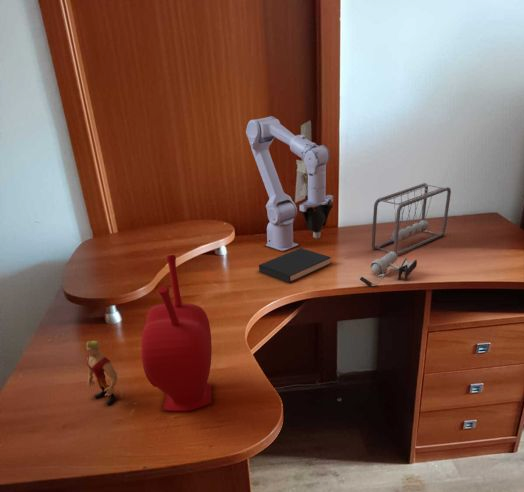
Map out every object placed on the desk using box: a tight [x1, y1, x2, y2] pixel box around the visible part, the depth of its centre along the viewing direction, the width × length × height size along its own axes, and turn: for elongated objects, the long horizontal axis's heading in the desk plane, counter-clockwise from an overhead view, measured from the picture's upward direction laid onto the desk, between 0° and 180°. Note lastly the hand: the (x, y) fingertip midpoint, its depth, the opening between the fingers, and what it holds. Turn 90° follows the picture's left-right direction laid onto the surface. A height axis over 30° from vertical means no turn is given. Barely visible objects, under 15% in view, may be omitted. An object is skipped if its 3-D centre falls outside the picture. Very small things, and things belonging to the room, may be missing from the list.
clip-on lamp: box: [358, 250, 418, 287], centre depth 157 cm, size 12×6×18 cm
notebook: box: [258, 247, 332, 284], centre depth 168 cm, size 14×20×2 cm
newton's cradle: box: [371, 182, 452, 256], centre depth 178 cm, size 30×10×18 cm, turn 130°
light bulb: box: [312, 208, 325, 240], centre depth 171 cm, size 6×6×10 cm
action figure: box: [86, 340, 118, 406], centre depth 109 cm, size 10×4×15 cm, turn 51°
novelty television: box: [140, 254, 213, 413], centre depth 104 cm, size 21×13×30 cm, turn 4°
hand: (316, 227), depth 171 cm, fingers closed on light bulb, 5 cm apart
